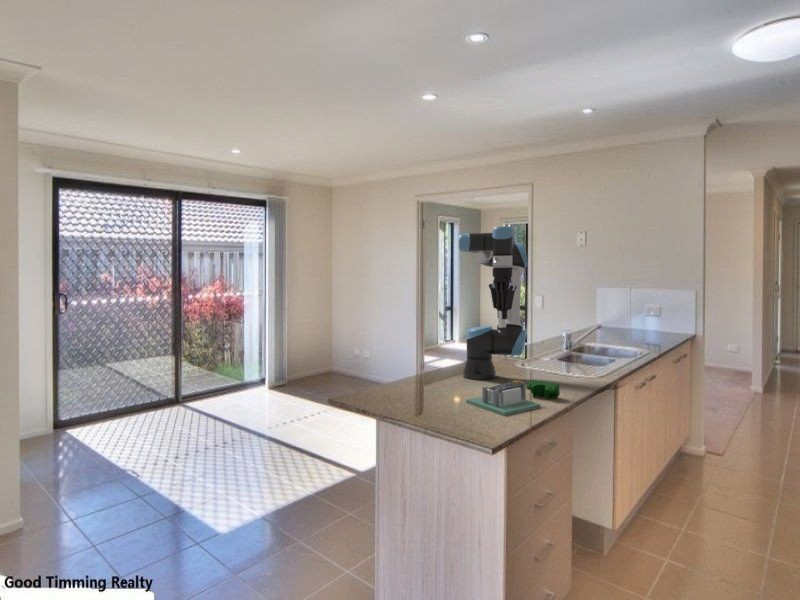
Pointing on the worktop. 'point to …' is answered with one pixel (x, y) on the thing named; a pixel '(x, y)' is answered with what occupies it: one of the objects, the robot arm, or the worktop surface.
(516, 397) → the board
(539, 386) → the clamp
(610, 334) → the worktop surface
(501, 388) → the grey flat bar
